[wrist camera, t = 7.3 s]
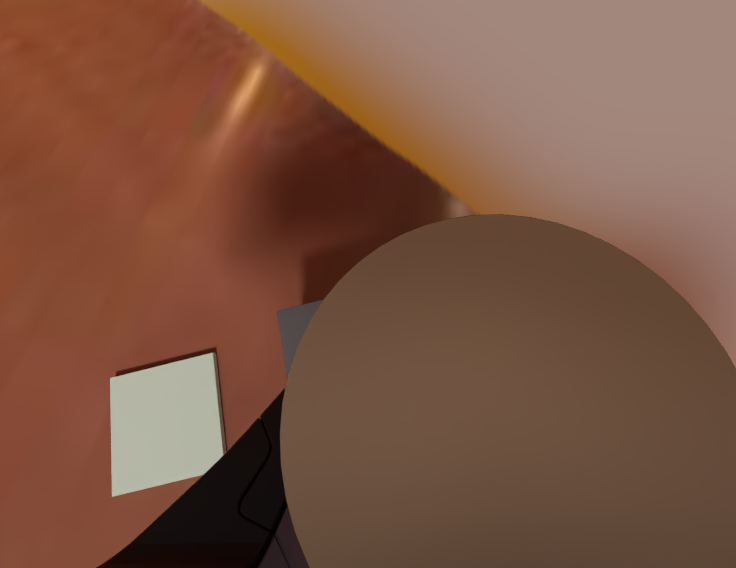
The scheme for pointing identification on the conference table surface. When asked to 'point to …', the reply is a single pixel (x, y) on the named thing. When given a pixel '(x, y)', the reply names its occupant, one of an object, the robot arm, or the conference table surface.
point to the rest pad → (165, 424)
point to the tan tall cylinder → (509, 409)
